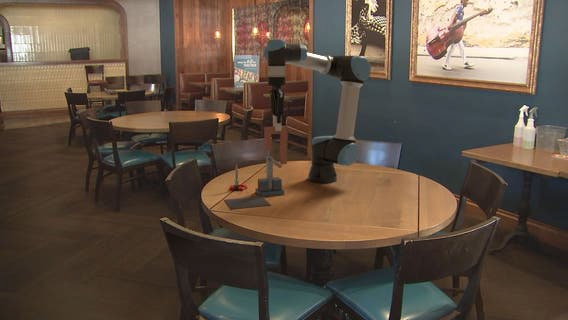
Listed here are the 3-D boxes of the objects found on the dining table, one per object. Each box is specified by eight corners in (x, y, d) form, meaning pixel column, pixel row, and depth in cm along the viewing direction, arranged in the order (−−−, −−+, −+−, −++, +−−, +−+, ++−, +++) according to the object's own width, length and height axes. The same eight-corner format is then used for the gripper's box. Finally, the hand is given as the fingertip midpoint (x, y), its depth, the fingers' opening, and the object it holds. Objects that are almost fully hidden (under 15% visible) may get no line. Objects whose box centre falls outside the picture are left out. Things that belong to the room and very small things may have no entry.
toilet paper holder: (279, 190, 239) (279, 154, 235) (292, 201, 221) (292, 163, 217) (255, 192, 236) (254, 156, 232) (267, 204, 217) (266, 165, 213)
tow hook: (232, 186, 248) (227, 190, 239) (232, 161, 246) (227, 164, 237) (248, 187, 247) (244, 191, 238) (248, 161, 245) (244, 165, 236)
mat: (262, 196, 228) (262, 196, 228) (270, 205, 215) (270, 204, 215) (224, 200, 223) (224, 199, 223) (230, 209, 210) (230, 208, 210)
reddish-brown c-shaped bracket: (285, 162, 222) (285, 125, 218) (286, 164, 220) (286, 126, 216) (264, 164, 219) (264, 126, 215) (266, 165, 217) (265, 127, 213)
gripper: (263, 75, 217) (264, 127, 222) (273, 77, 203) (274, 133, 208) (279, 75, 219) (279, 127, 225) (290, 76, 205) (291, 132, 210)
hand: (277, 129), depth 216 cm, fingers closed on reddish-brown c-shaped bracket, 2 cm apart
